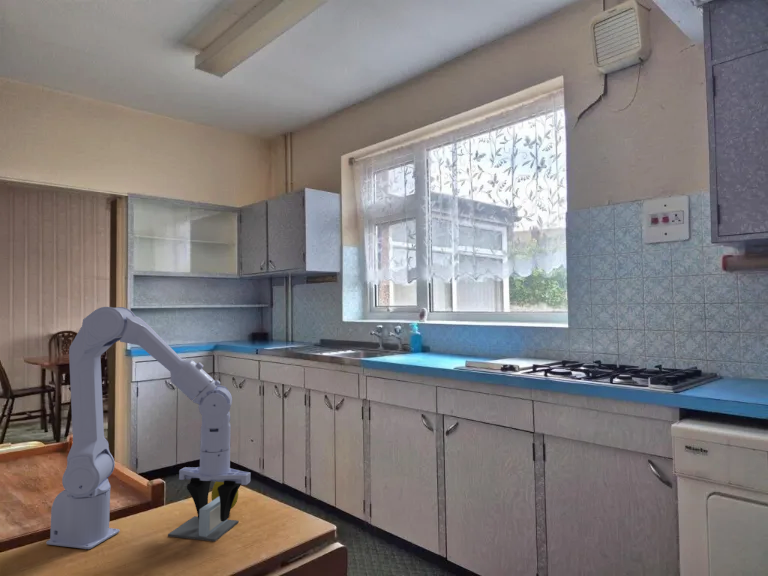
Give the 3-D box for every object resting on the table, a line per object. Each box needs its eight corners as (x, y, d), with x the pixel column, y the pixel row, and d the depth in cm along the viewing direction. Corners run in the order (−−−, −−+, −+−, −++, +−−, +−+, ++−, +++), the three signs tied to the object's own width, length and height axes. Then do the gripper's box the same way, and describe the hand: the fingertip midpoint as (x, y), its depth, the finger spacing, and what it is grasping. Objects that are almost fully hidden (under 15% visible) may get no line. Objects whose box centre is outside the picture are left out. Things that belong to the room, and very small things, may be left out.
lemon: (233, 518, 108) (234, 479, 109) (207, 518, 108) (208, 479, 109) (241, 508, 114) (241, 471, 114) (215, 508, 114) (216, 471, 114)
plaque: (198, 535, 99) (199, 509, 99) (220, 519, 107) (221, 494, 107) (206, 536, 98) (207, 510, 99) (228, 520, 106) (228, 495, 106)
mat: (167, 536, 99) (167, 534, 99) (194, 518, 108) (194, 516, 108) (215, 541, 97) (215, 539, 97) (238, 522, 106) (238, 520, 106)
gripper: (170, 451, 101) (168, 522, 100) (239, 456, 98) (237, 530, 97) (191, 442, 108) (189, 509, 107) (255, 447, 105) (254, 515, 104)
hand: (213, 518), depth 102 cm, fingers open, 4 cm apart
